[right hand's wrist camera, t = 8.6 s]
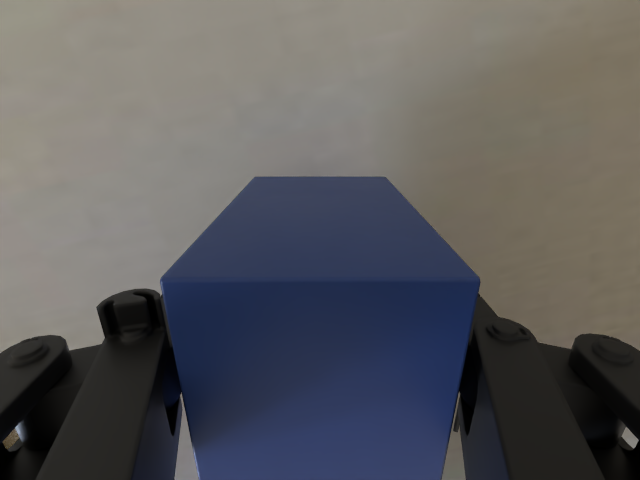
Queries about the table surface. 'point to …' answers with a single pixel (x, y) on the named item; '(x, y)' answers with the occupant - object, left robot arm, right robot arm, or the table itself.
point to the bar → (320, 334)
